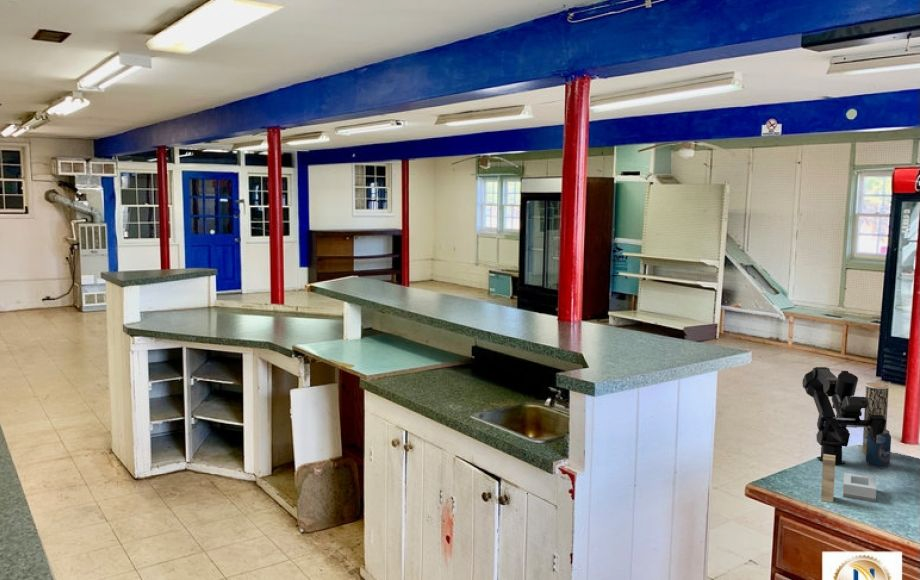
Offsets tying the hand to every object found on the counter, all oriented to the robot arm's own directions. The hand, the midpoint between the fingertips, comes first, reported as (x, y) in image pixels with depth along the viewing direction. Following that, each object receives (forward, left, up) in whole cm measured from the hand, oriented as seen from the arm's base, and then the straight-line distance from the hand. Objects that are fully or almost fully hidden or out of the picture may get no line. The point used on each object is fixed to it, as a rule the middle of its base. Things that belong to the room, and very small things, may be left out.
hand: (858, 441), depth 213 cm
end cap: (+1, 0, -16) cm, 16 cm away
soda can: (-18, +23, -16) cm, 33 cm away
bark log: (-27, +29, -16) cm, 42 cm away
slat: (+3, -12, -16) cm, 20 cm away
